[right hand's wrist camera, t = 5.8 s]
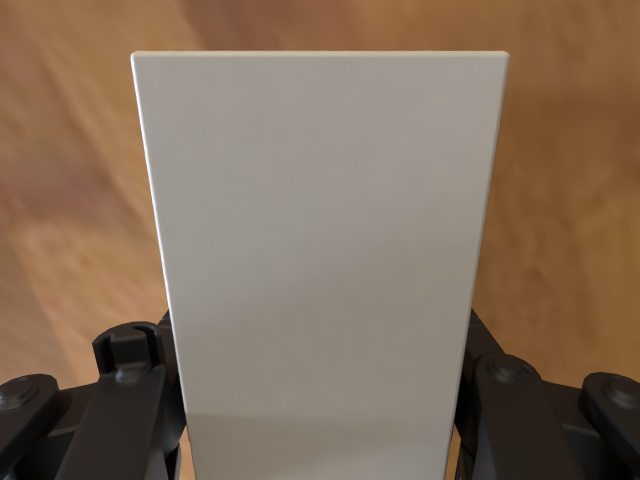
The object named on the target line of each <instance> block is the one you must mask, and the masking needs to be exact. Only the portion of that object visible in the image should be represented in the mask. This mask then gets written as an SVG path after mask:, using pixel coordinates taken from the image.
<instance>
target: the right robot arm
mask: <svg viewBox="0 0 640 480" xmlns="http://www.w3.org/2000/svg"><path fill="white" fill-rule="evenodd" d="M92 345H93V349H94V353H95V358H96V362H97V366H98V370H99V374H100V377H99V380H98V382H96V383H92V384H88V385H84V386H79V387H74V388H69V389H65V390H60V391H59V387H58V384H57V380H56V379H55V378H53V377H52V376H51V375H45V374H34V375H26V376H22V377H20V378H15V379H12V380H10V381H8V382H6V383H4V384H2V385H0V480H179V475H180V466H181V457H182V456H181V449H180V443H179V440H180V438H181V435H182V433H183V430H184V428H185V426H186V425H187V421H186V415H185V408H184V402H183V395H182V389H181V382H180V376H179V369H178V363H177V356H176V350H175V343H174V337H173V330H172V324H171V318H170V311H169V309H168V311H167V312H166V314H165V315H164V316H163V318H162V320H160V322H159V323H158V325H156V324H154V323H150V322H146V321H143V322H130V323H125V324H121V325H118V326H116V327H113V328H110V329H108V330H107V331H105V332H103V333H102V334H100V335H99V336H98V337H97V338H96V339H95V340H94V341H93V342H92ZM454 423H455V425H456V428H457V430H458V433H459V435H460V437H461V443H460V449H459V455H458V461H457V467H456V473H455V480H460V476H461V480H640V383H638V382H636V381H634V380H632V379H630V378H628V377H625V376H621V375H618V374H613V373H604V372H598V373H591V374H589V375H588V376H587V377H585V378H584V382H583V385H582V388H581V389H579V388H574V387H569V386H565V385H560V384H555V383H551V382H547V381H543V380H542V379H541V377H540V375H539V374H538V372H537V371H536V370H535V368H534V367H532V366H531V365H530V364H528V363H527V362H526V361H524V360H522V359H520V358H517V357H515V356H513V355H509V354H505V353H504V351H503V350H502V349H501V347H500V346H499V344H498V343H497V342H496V340H495V339H494V338H493V336H492V335H491V333H490V332H489V331H488V329H487V328H485V325H484V324H483V323H482V321H481V320H480V319H478V316H477V314H476V313H475V312H474V310H473V309H472V308H471V314H470V320H469V326H468V333H467V339H466V346H465V352H464V359H463V365H462V372H461V378H460V385H459V391H458V398H457V404H456V410H455V417H454ZM454 423H453V427H454ZM187 432H188V428H187ZM452 434H453V430H452ZM188 438H189V434H188ZM451 440H452V436H451Z"/></svg>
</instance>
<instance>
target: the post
mask: <svg viewBox="0 0 640 480" xmlns="http://www.w3.org/2000/svg"><path fill="white" fill-rule="evenodd" d="M509 62H510V55H509V53H507V52H505V51H136V52H134V53H132V54H131V65H132V71H133V78H134V84H135V91H136V97H137V104H138V110H139V117H140V123H141V130H142V136H143V143H144V149H145V155H146V162H147V168H148V175H149V181H150V188H151V194H152V201H153V207H154V214H155V220H156V227H157V233H158V240H159V246H160V253H161V259H162V266H163V272H164V279H165V285H166V292H167V298H168V305H169V311H170V318H171V324H172V330H173V337H174V343H175V350H176V356H177V363H178V369H179V376H180V382H181V389H182V395H183V402H184V408H185V415H186V421H187V428H188V434H189V441H190V447H191V454H192V460H193V467H194V473H195V480H445V475H446V469H447V462H448V456H449V449H450V443H451V436H452V430H453V423H454V417H455V410H456V404H457V398H458V391H459V385H460V378H461V372H462V365H463V359H464V352H465V346H466V339H467V333H468V326H469V320H470V314H471V307H472V301H473V294H474V288H475V281H476V275H477V268H478V262H479V255H480V249H481V243H482V236H483V230H484V223H485V217H486V210H487V204H488V197H489V191H490V184H491V178H492V171H493V165H494V159H495V152H496V146H497V139H498V133H499V126H500V120H501V113H502V107H503V100H504V94H505V87H506V81H507V75H508V68H509Z"/></svg>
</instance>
